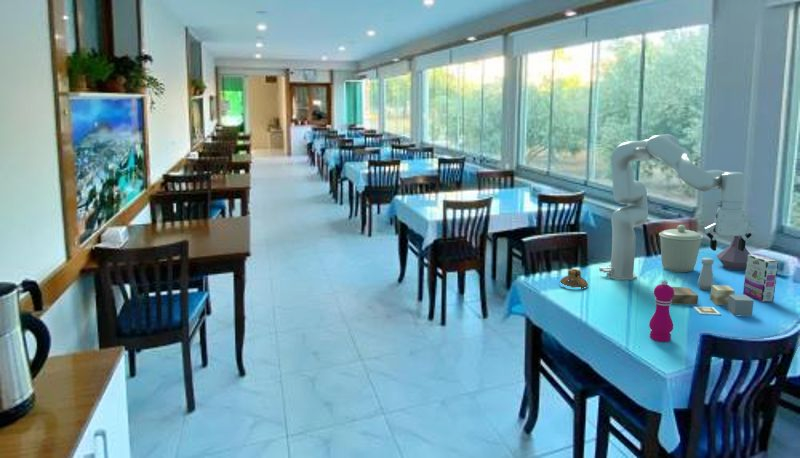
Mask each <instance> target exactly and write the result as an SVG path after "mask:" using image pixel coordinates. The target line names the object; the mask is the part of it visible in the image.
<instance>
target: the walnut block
mask: <svg viewBox="0 0 800 458" xmlns="http://www.w3.org/2000/svg"><path fill="white" fill-rule="evenodd" d="M671 287H672V288H673V290H674V296H673V298H671V300H672V302H671V303H672V304H671V305H695V306H696V305H698V301H699V295H698V294H697V293H696V292H695V291H694V290H693V289H691V288H690V287H689V286H686V287H685V286H671Z"/></svg>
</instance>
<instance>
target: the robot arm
mask: <svg viewBox="0 0 800 458" xmlns="http://www.w3.org/2000/svg"><path fill="white" fill-rule="evenodd" d="M690 158H691V153H690V151H688V149H685V148H684V147H682V146H680V143H679V140H678V138H677V137H676V136H675V135H672V134H669V133H666V134H657V135H652V136H651V137H650V138H649V139H643V140H633V141H632V140H631V141H626V142H622V143H621V144H619V145H617V146H616V147H615V148H614V149H613V151H612V153H611V156H610V166H611V174H612V192H613V199H614V201H615V202H616V203H617V204H621V205H625V204H627V206H623V207H622V206H621V207H619V208H617V209H615V210H614V211H613V213H612V214H611V217H610V219H611V220H610V221H611V229H612V239H611V253H610V254H611V255H610V257H611V259H610V264H609V265H608V266H607V267H605V266H604V267H603V266H600V267H599V270H598V271H599V272H603V273H606V277H607V276H608V277H607V278H609V277H610V278H609V279H611V278H613V279H612V280H615V279H616V281H634V280H636V279H637V278H638V275H637V274H636V273H634V270H635V269H634V268H635V255H636V253H635V252H636V233H635V230H634V228H635V227H640V226H642V225H644V224H646V222H647V220H648V218H649V208H648V207H649V205H648V191H647V188H646V186H645V184H644V183H643V182H642V181H639V180H635V179H634V169H633V167H632V165H631V163H632V162H639V161H647V160H651V159H658V160H659V161H661V162H662V163H664V164H666V165H667V166H668V167H670V168H672V169H673V170H674V172H675V174H676V175H677V176H678V178H679V179H680V180H682V181H683V182H684V183H685V184H687V185H689V186H690V187H692V188H693V189H695V190H697V191H700V192H711V191H716V190H720V197H719V201H716V203H715V206H716V207H718V208H717V210H716V212H715V215H714V221H713V223H712V224H710V225H708V226H706V227H703V230H704V232H705V235H706V236H707V237H708V239H710V245H709V247H710V249H711V250H712V251H714V252H715V251H717V245H718V244H717V243H718V240H717V238H719V237H734V236H739V237H740V238H741V239H739V245H738V249H739V250H741V251H744V248H746V245H747V244H746V243H747V242H746V241H748V239H749V238H751V237H752V235H753V233H754V232H755V230H756V229H755V228H754V227H752V226H750V225H748V224H747V213H746V209H744V202H745V201H744V199H745V189H746V179H747V176H746V174H745V173H743V172H741V171H725V170H721V169H711V170H710V169H709V170H704V169H702V168H701V167H699V166H697V165H696V164H695V163H693V162H692V161H691V160H690ZM711 230H712V232H713V233H712V234H711V232H710V231H711ZM747 230H748V231H747Z"/></svg>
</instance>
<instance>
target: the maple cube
mask: <svg viewBox="0 0 800 458" xmlns="http://www.w3.org/2000/svg"><path fill="white" fill-rule="evenodd" d="M735 293H736V291H735V289H733V288H732V287H731V286H730V285H718V284H717V285H716V284H713V285H712V286H711V289H710V298H709V300H710V301H711V302H712V303H713V304H714V305H715V306H728V297H729V295H735Z"/></svg>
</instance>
